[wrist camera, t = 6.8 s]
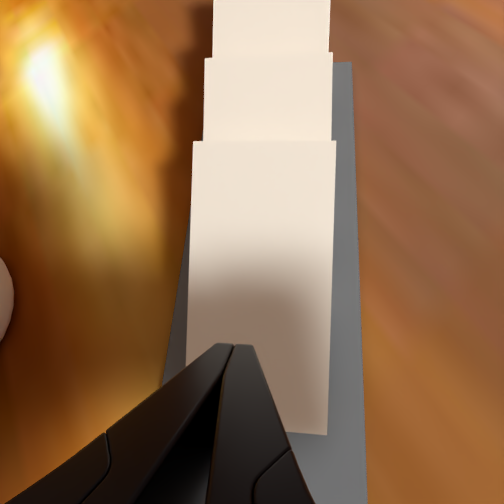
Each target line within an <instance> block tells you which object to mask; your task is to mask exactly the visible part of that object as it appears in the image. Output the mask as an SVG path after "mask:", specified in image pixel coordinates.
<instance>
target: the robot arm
mask: <svg viewBox="0 0 504 504" xmlns="http://www.w3.org/2000/svg"><path fill="white" fill-rule="evenodd" d="M5 504H316V503H315V501H314V499H313V498H312V496H311V494H310V491H309V489H308V487H307V484H306V482H305V480H304V477H303V475H302V472H301V470H300V468H299V465H298V462H297V460H296V457H295V454H294V452H293V451H292V447H291V444H290V442H289V439H288V436H287V434H286V431H285V429H284V426H283V423H282V421H281V418H280V415H279V413H278V410H277V407H276V405H275V402H274V399H273V397H272V394H271V391H270V389H269V386H268V383H267V381H266V378H265V375H264V373H263V370H262V367H261V365H260V362H259V359H258V357H257V354H256V351H255V349H254V347H253V345H251V344H236V345H235V346H234V344H232V343H216V344H214V345H213V346H212V347H210V348H209V349H208V350H207V351H205V352H204V353H203V354H202V355H200V356H199V357H198V358H196V359H195V360H194V361H193V362H191V363H190V364H189V365H188V366H186V367H185V368H184V369H183V370H181V371H180V372H179V373H178V374H176V375H175V376H174V377H173V378H171V379H170V380H169V381H168V382H166V383H165V384H164V385H162V386H161V387H160V388H159V389H157V390H156V391H155V392H154V393H152V394H151V395H150V396H149V397H147V398H146V399H145V400H144V401H142V402H141V403H140V404H139V405H137V406H136V407H135V408H134V409H132V410H131V411H130V412H129V413H127V414H126V415H125V416H123V417H122V418H121V419H120V420H118V421H117V422H116V423H115V424H113V425H112V426H111V427H110V428H108V429H107V430H106V433H102V434H101V435H99V436H98V437H97V438H96V439H94V440H93V441H92V442H91V443H89V444H88V445H87V446H85V447H84V448H83V449H81V450H80V451H79V452H78V453H76V454H75V455H74V456H72V457H71V458H70V459H68V460H67V461H66V462H64V463H63V464H62V465H60V466H59V467H57V468H56V469H55V470H53V471H52V472H50V473H49V474H47V475H46V476H45V477H43V478H42V479H40V480H39V481H37V482H36V483H35V484H33V485H32V486H30V487H29V488H27V489H26V490H24V491H23V492H21V493H20V494H18V495H17V496H15V497H14V498H12V499H11V500H9V501H8V502H6V503H5Z"/></svg>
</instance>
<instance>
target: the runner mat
mask: <svg viewBox="0 0 504 504" xmlns="http://www.w3.org/2000/svg"><path fill="white" fill-rule="evenodd" d="M203 128H204V127H203ZM201 141H203V134H202V140H201ZM331 141H336V168H335V200H334V232H333V264H332V296H331V328H330V360H329V392H328V424H327V435H318V434H307V433H295V432H286V434H287V436H288V439H289V442H290V444H291V447H292V451H293V452H294V454H295V457H296V460H297V462H298V465H299V468H300V470H301V472H302V475H303V477H304V480H305V482H306V484H307V487H308V489H309V491H310V494H311V496H312V498H313V499H314V501H315V503H316V504H367V476H366V448H365V420H364V392H363V364H362V336H361V308H360V280H359V252H358V225H357V197H356V169H355V141H354V113H353V85H352V62H333V68H332V127H331ZM190 223H191V208H190V214H189V221H188V227H187V233H186V239H185V245H184V252H183V258H182V264H181V270H180V277H179V283H178V289H177V295H176V301H175V308H174V314H173V320H172V326H171V332H170V339H169V345H168V351H167V357H166V363H165V370H164V376H163V382H162V385H164V384H165V383H166V382H168V381H169V380H170V379H171V378H173V377H174V376H175V375H176V374H178V373H179V372H180V371H181V370H183V369H184V368H185V367H186V344H187V314H188V283H189V253H190Z"/></svg>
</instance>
